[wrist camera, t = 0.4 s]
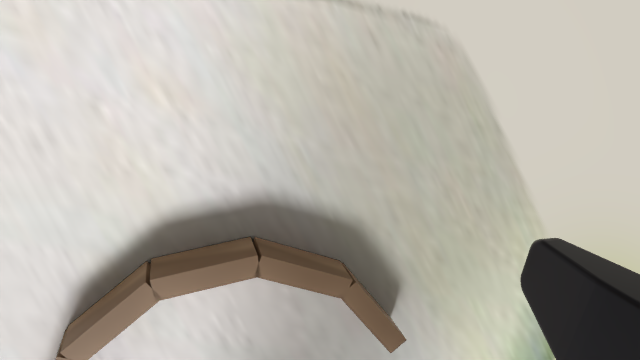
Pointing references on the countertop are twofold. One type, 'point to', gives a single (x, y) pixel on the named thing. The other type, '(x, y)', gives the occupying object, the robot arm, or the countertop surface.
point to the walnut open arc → (217, 270)
